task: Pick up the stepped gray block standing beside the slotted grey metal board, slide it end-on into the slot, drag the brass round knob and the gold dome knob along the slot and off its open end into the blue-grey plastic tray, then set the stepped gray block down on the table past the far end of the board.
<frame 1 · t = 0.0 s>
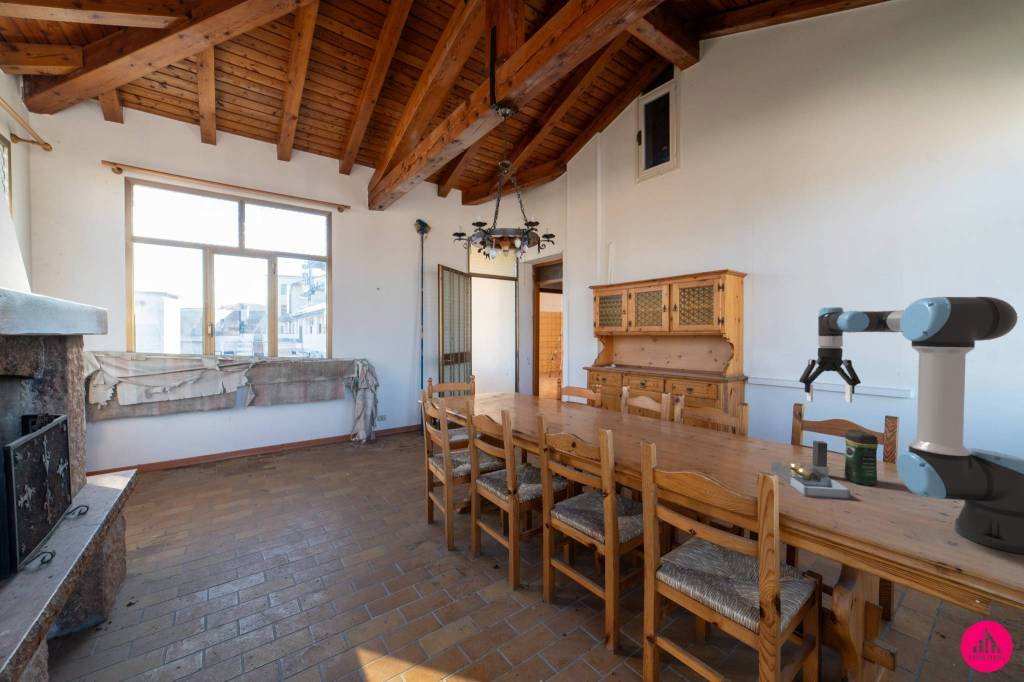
hand: (829, 401, 157), 28 cm above the table, fingers open, 13 cm apart
tray: (819, 492, 139), on the table
stepped gray block: (819, 475, 155), on the table
coffee jar: (860, 481, 149), on the table
brass round knob: (796, 471, 153), point 2 cm above the table, touching slot board
gold dome knob: (804, 477, 148), point 2 cm above the table, touching slot board
slot board: (799, 478, 151), on the table
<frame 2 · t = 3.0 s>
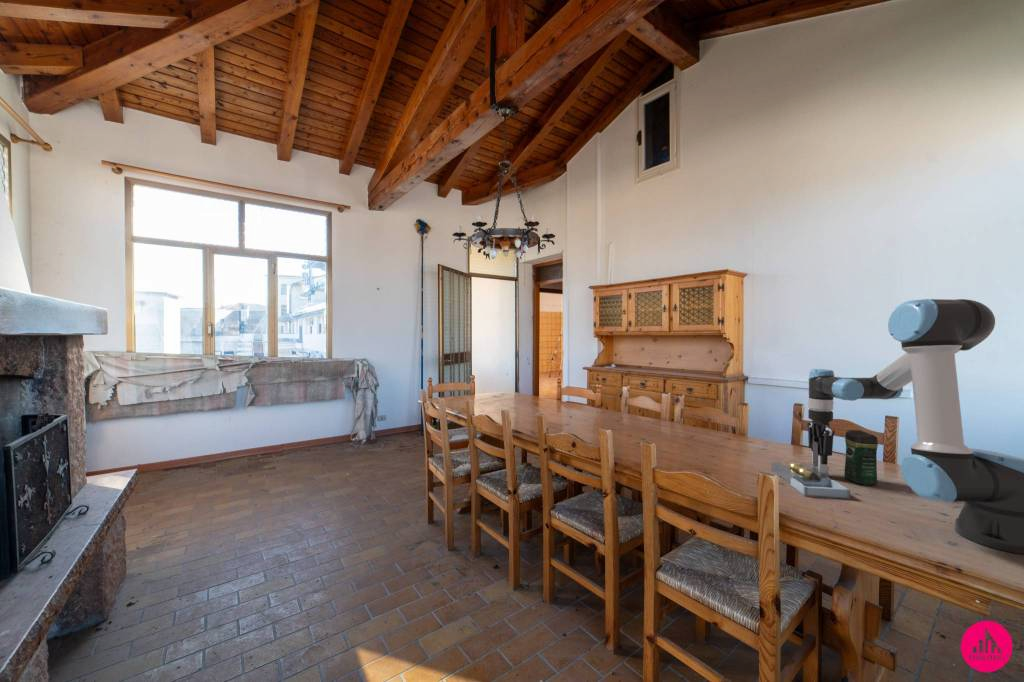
hand: (819, 470, 155), 2 cm above the table, fingers closed on stepped gray block, 3 cm apart
stepped gray block: (819, 475, 155), on the table, touching gripper
everything else where it was.
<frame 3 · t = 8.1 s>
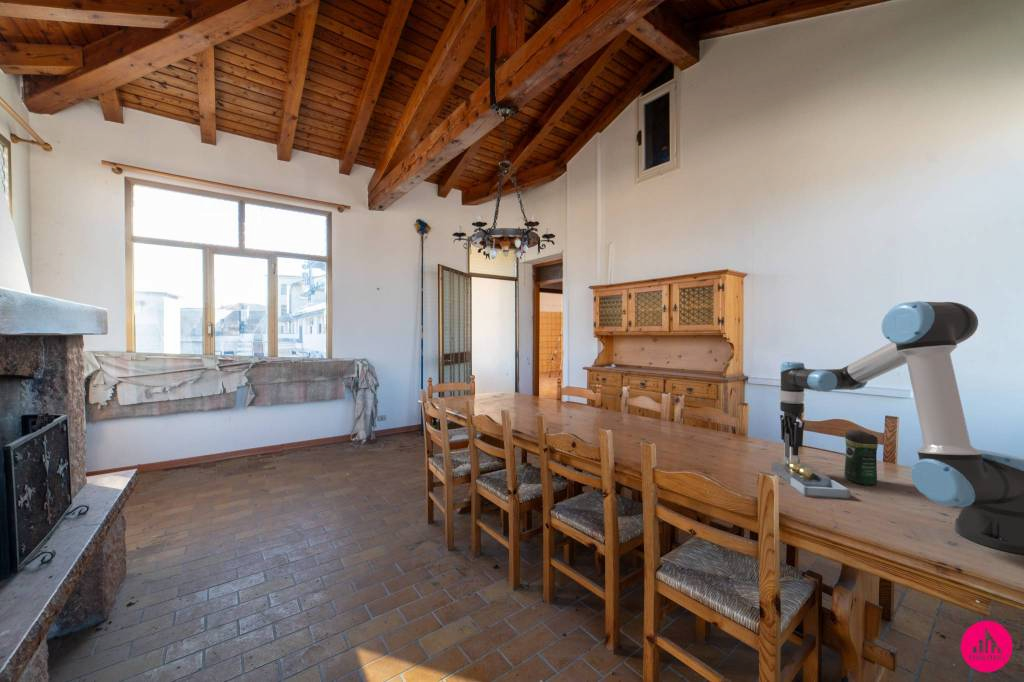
hand: (791, 461, 157), 5 cm above the table, fingers closed on stepped gray block, 3 cm apart
stepped gray block: (791, 466, 157), point 3 cm above the table, touching gripper
brass round knob: (795, 472, 153), point 2 cm above the table, touching gripper, slot board
everything else where it was.
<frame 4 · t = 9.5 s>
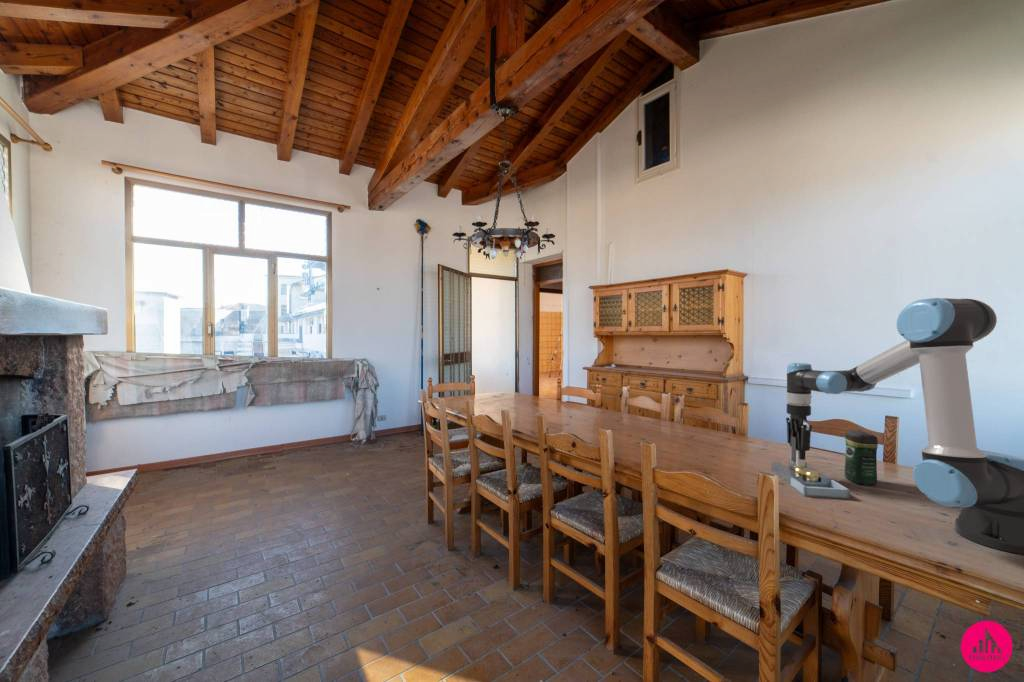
hand: (797, 465, 153), 5 cm above the table, fingers closed on stepped gray block, 3 cm apart
stepped gray block: (797, 471, 153), point 3 cm above the table, touching gripper
brass round knob: (801, 476, 149), point 2 cm above the table, touching gold dome knob, slot board
gold dome knob: (812, 480, 145), point 2 cm above the table, touching brass round knob, slot board
everything else where it was.
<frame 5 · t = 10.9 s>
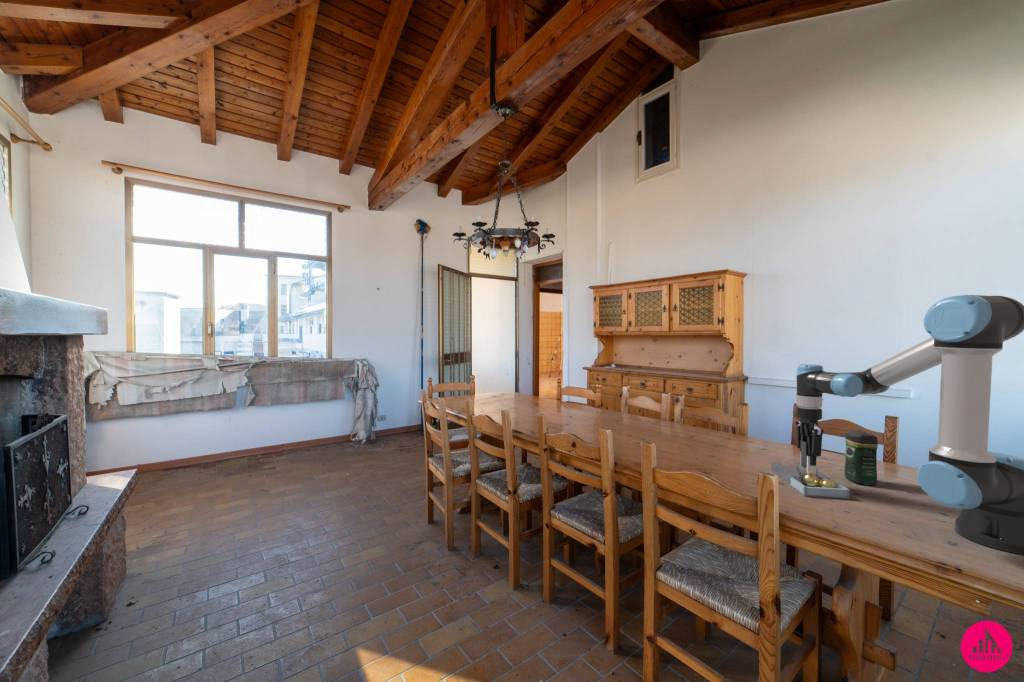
hand: (808, 471, 146), 5 cm above the table, fingers closed on stepped gray block, 3 cm apart
stepped gray block: (808, 477, 146), point 3 cm above the table, touching gripper
brass round knob: (808, 481, 143), point 2 cm above the table, tilted 57°, touching tray
gold dome knob: (824, 483, 140), point 2 cm above the table, tilted 90°, touching tray
everything else where it was.
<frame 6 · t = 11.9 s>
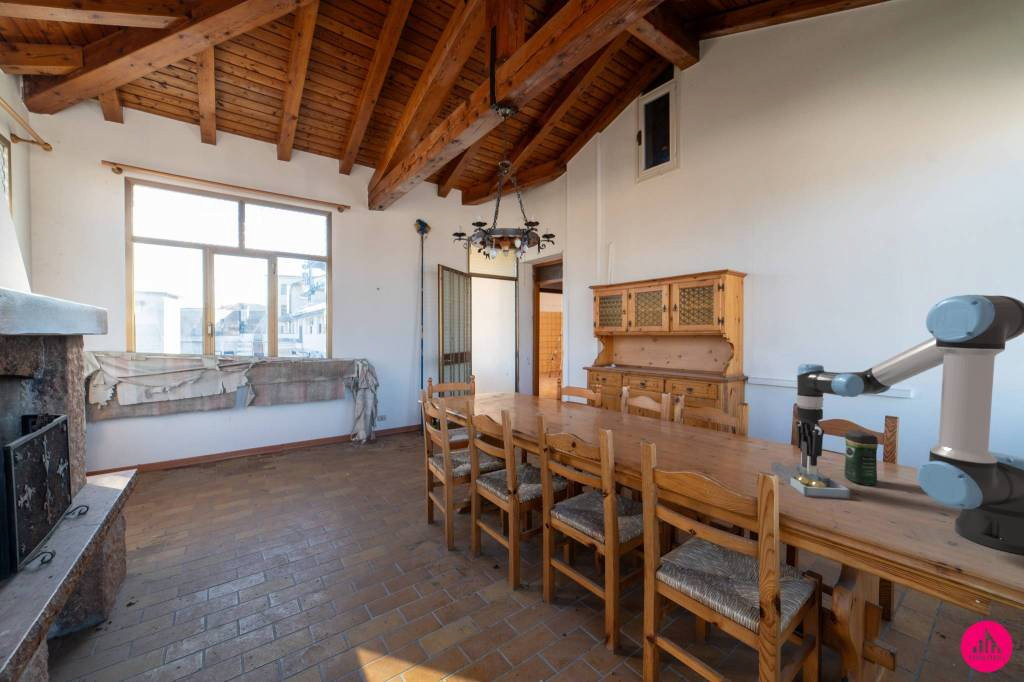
hand: (808, 471, 145), 5 cm above the table, fingers closed on stepped gray block, 3 cm apart
stepped gray block: (808, 477, 145), point 3 cm above the table, touching gripper
brass round knob: (801, 480, 143), point 2 cm above the table, tilted 90°, touching tray
gold dome knob: (813, 485, 139), point 2 cm above the table, tilted 90°, touching tray
everything else where it was.
when the fingers open (3 cm above the table, at t = 17.1 s): stepped gray block stays where it is, on the table.
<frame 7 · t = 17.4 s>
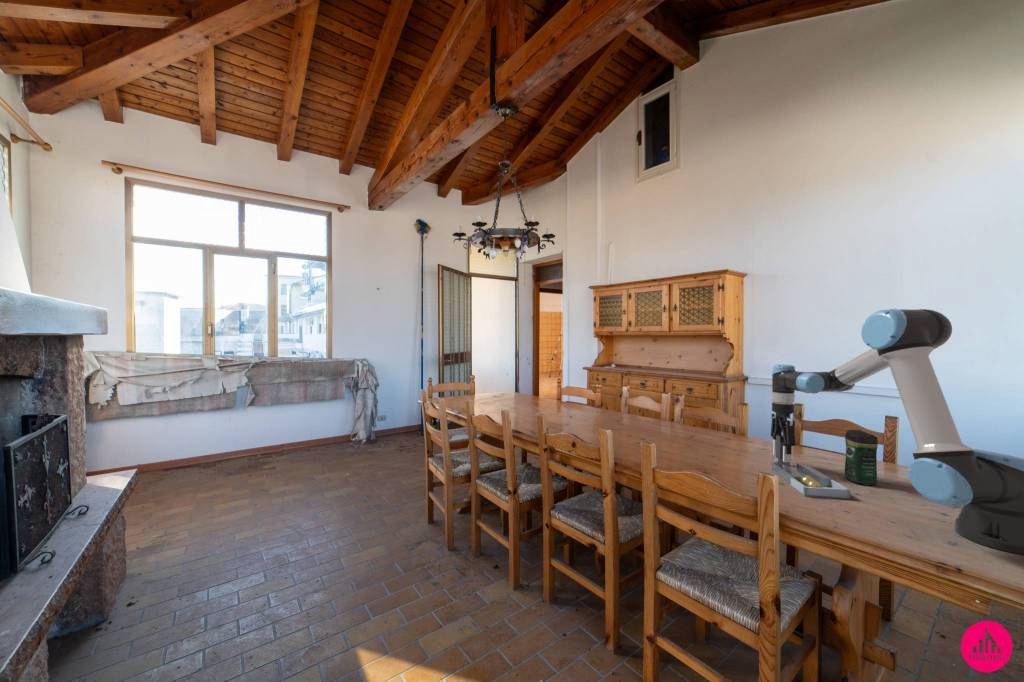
hand: (782, 458, 164), 4 cm above the table, fingers open, 7 cm apart
stepped gray block: (782, 467, 164), on the table
brass round knob: (806, 480, 143), point 2 cm above the table, tilted 90°, touching tray
gold dome knob: (810, 484, 139), point 2 cm above the table, tilted 90°, touching tray
everything else where it was.
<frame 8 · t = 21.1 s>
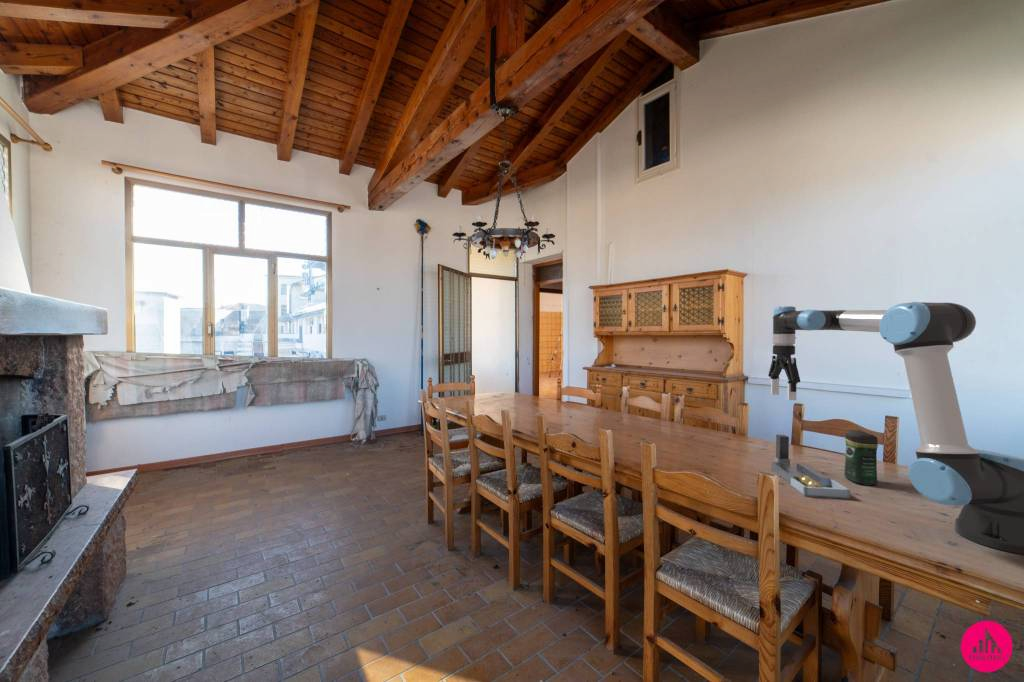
hand: (783, 397, 163), 29 cm above the table, fingers open, 13 cm apart
nothing on the table moved.
at the end: gold dome knob inside the target area on the tray (3.1 cm from its centre), point 2.5 cm above the tray's base; brass round knob inside the target area on the tray (4.1 cm from its centre), point 2.5 cm above the tray's base; the gripper is holding nothing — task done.
